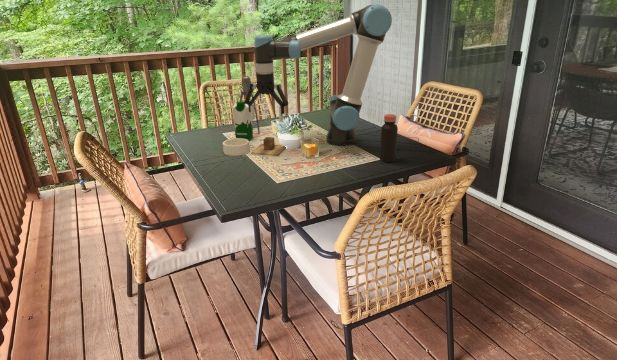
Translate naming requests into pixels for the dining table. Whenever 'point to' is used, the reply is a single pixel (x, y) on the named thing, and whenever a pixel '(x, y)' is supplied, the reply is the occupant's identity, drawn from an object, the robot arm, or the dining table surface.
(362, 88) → the robot arm
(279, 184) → the dining table surface
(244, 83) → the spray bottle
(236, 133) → the milk carton
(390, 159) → the bottle
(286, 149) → the mat
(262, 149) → the lid
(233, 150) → the bowl
